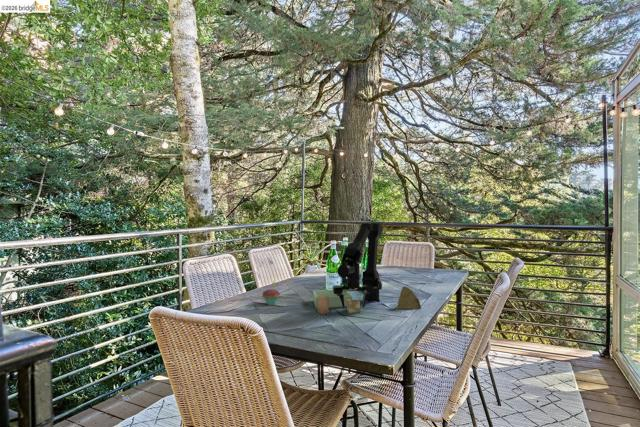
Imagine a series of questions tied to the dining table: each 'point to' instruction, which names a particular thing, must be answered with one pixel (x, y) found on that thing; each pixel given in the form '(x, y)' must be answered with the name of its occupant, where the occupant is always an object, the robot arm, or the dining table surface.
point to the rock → (408, 299)
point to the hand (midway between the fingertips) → (353, 307)
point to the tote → (331, 298)
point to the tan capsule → (323, 304)
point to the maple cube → (353, 305)
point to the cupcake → (271, 295)
